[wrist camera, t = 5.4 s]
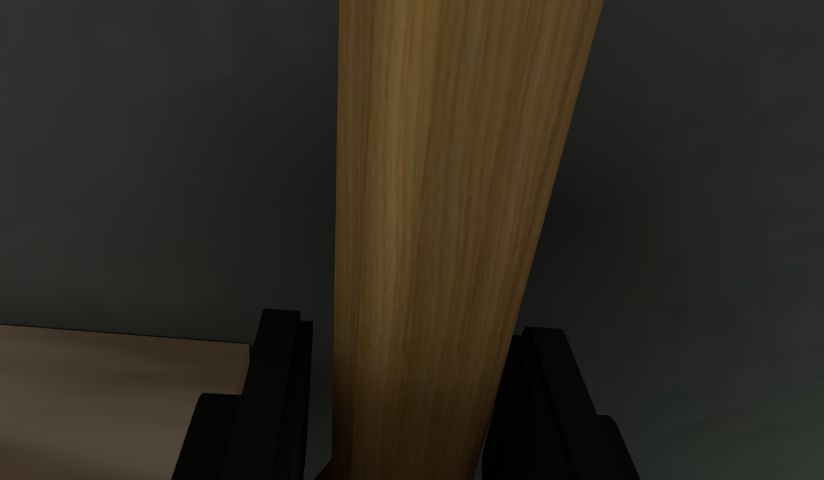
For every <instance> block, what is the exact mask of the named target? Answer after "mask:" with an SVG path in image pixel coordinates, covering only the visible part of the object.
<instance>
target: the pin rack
mask: <svg viewBox="0 0 824 480" xmlns="http://www.w3.org/2000/svg"><path fill="white" fill-rule="evenodd" d="M248 367H249V344H239V343H226V342H214V341H201V340H188V339H176V338H163V337H150V336H138V335H125V334H112V333H100V332H87V331H74V330H61V329H49V328H36V327H23V326H11V325H0V480H171V478H172V475H173V472H174V469H175V466H176V463H177V460H178V457H179V454H180V451H181V448H182V445H183V442H184V439H185V436H186V433H187V430H188V427H189V424H190V421H191V418H192V415H193V412H194V409H195V406H196V403H197V401H198V399H199V396H200V395H201V394H202V393H218V394H235V395H242V391H243V387H244V383H245V379H246V375H247V371H248Z"/></svg>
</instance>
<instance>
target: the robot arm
mask: <svg viewBox="0 0 824 480" xmlns="http://www.w3.org/2000/svg"><path fill="white" fill-rule="evenodd" d="M312 336H313V321H300V311H293V310H278V309H264V310H263V313H262V316H261V320H260V324H259V328H258V332H257V336H256V340H255V344H254V348H253V351H252V355H251V359H250V363H249V367H248V371H247V375H246V379H245V383H244V387H243V391H242V395H235V394H218V393H202V394H201V395H200V396H199V399H198V401H197V403H196V406H195V409H194V412H193V415H192V418H191V421H190V424H189V427H188V430H187V433H186V436H185V439H184V442H183V445H182V448H181V451H180V454H179V457H178V460H177V463H176V466H175V469H174V472H173V475H172V478H171V480H303V475H304V466H305V456H306V441H307V424H308V406H309V389H310V371H311V353H312ZM482 479H483V480H640V478H639V475H638V473H637V471H636V468H635V466H634V464H633V461H632V459H631V457H630V454H629V452H628V450H627V447H626V445H625V443H624V440H623V438H622V436H621V433H620V431H619V429H618V427H617V425H616V423H615V421H614V420H613V419H612V418H611V417H610V416H608V415H597V413H596V411H595V408H594V406H593V403H592V401H591V398H590V396H589V393H588V391H587V388H586V386H585V383H584V381H583V378H582V376H581V373H580V371H579V368H578V366H577V363H576V361H575V358H574V356H573V353H572V351H571V348H570V346H569V343H568V341H567V338H566V336H565V334H564V332H563V330H561V329H554V328H539V327H526V328H525V329H524V330H523V333H522V335H513V336H512V339H511V343H510V347H509V350H508V354H507V357H506V361H505V365H504V368H503V372H502V376H501V380H500V384H499V388H498V393H497V397H496V401H495V405H494V409H493V414H492V418H491V422H490V426H489V430H488V435H487V439H486V443H485V447H484V451H483V457H482Z"/></svg>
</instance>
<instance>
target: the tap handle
mask: <svg viewBox="0 0 824 480" xmlns="http://www.w3.org/2000/svg"><path fill="white" fill-rule="evenodd" d="M603 2H604V0H339V50H338V110H337V171H336V231H335V292H334V352H333V413H332V459H331V460H330V461H329V463H328V464H327V465H326V466H325V467H324V469H323V470H322V471H321V472H320V473H319V474H318V476H317V477H316V478H315V479H314V480H473V478H474V475H475V471H476V467H477V464H478V460H479V456H480V453H481V449H482V445H483V442H484V438H485V434H486V431H487V427H488V423H489V420H490V416H491V412H492V409H493V405H494V401H495V398H496V394H497V390H498V387H499V383H500V379H501V376H502V372H503V368H504V365H505V361H506V357H507V354H508V350H509V347H510V343H511V339H512V336H513V332H514V328H515V325H516V321H517V317H518V314H519V310H520V306H521V303H522V299H523V295H524V292H525V288H526V284H527V281H528V277H529V273H530V270H531V266H532V262H533V259H534V255H535V251H536V248H537V244H538V240H539V237H540V233H541V229H542V226H543V222H544V218H545V215H546V211H547V207H548V204H549V200H550V196H551V193H552V189H553V185H554V182H555V178H556V174H557V171H558V167H559V163H560V160H561V156H562V152H563V149H564V145H565V141H566V138H567V134H568V130H569V127H570V123H571V119H572V116H573V112H574V109H575V105H576V101H577V98H578V94H579V90H580V87H581V83H582V79H583V76H584V72H585V68H586V65H587V61H588V57H589V54H590V50H591V46H592V43H593V39H594V35H595V32H596V28H597V24H598V21H599V17H600V13H601V10H602V6H603Z"/></svg>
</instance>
